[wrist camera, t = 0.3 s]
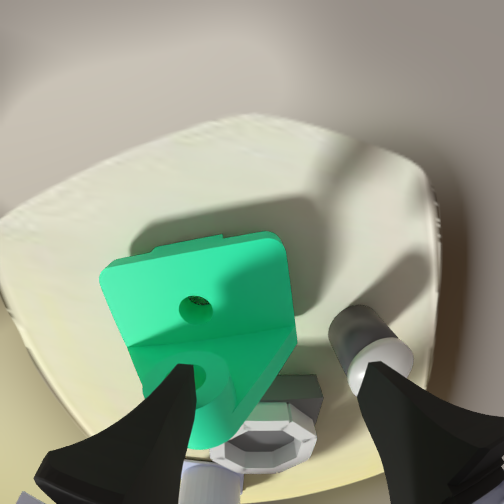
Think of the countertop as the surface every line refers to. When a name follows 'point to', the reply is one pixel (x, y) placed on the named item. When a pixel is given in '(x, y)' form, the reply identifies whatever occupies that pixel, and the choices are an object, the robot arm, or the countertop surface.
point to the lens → (366, 344)
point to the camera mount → (207, 322)
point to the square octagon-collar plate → (275, 429)
